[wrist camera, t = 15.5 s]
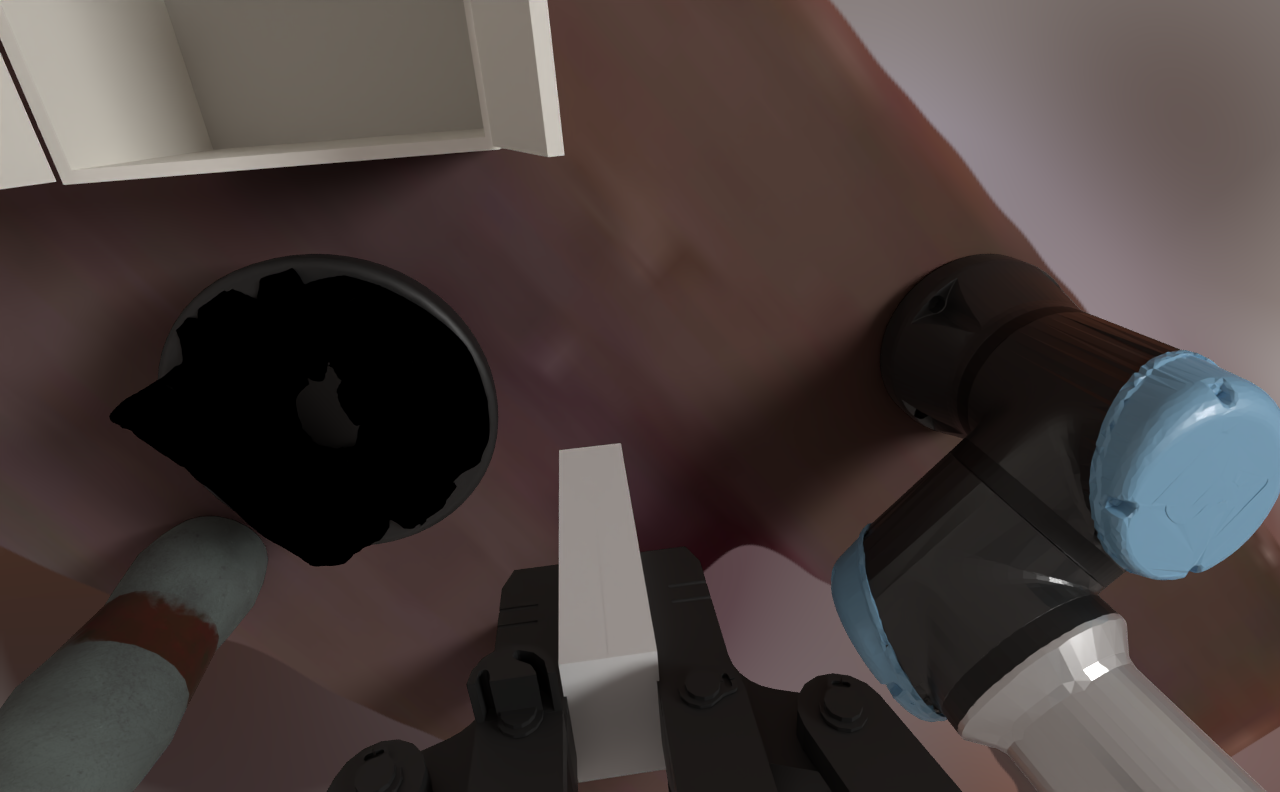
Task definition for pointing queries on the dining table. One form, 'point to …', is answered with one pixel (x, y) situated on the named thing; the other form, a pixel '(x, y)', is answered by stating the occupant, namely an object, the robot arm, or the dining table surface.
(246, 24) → the carton
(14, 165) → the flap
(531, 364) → the dining table surface
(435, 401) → the bowl of black rocks
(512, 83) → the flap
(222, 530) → the bottle
